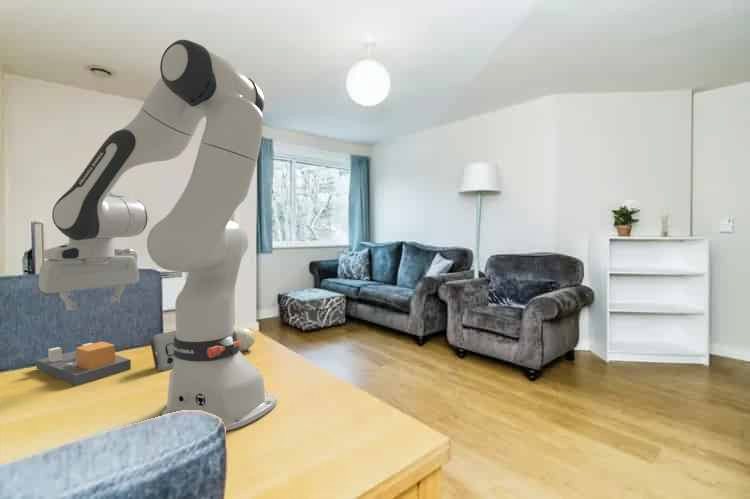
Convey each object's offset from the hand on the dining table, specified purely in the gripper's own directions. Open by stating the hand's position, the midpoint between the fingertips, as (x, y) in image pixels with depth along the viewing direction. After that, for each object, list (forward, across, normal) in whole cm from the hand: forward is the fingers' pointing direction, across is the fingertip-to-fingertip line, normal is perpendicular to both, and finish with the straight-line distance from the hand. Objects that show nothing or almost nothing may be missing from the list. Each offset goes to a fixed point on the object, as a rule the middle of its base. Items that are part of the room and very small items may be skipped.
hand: (94, 306), depth 92 cm
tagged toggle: (+15, -2, -8) cm, 17 cm away
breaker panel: (+17, 0, -6) cm, 18 cm away
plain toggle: (+14, +4, -11) cm, 19 cm away
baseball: (+17, -31, +17) cm, 39 cm away
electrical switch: (+17, -13, +10) cm, 24 cm away
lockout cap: (+14, 0, 0) cm, 14 cm away
